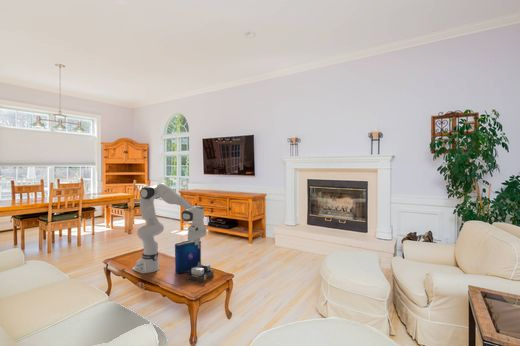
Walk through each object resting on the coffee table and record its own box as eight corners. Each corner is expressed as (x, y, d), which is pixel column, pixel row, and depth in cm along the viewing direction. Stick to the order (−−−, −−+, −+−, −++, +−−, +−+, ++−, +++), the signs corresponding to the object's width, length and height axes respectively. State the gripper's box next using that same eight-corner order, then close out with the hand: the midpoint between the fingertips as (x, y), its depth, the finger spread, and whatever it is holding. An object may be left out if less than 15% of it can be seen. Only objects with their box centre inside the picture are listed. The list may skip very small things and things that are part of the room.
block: (191, 279, 206) (191, 268, 206) (194, 277, 210) (194, 266, 209) (201, 281, 203) (201, 270, 203) (203, 279, 206) (204, 268, 206)
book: (176, 275, 214) (176, 244, 214) (173, 272, 220) (174, 242, 219) (201, 269, 227) (201, 240, 226) (198, 266, 233) (198, 238, 232)
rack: (187, 280, 205) (188, 268, 205) (200, 272, 220) (200, 261, 220) (202, 283, 200) (202, 271, 200) (213, 275, 215) (213, 264, 215)
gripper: (202, 223, 219) (201, 239, 220) (186, 228, 200) (185, 246, 201) (208, 224, 217) (207, 241, 217) (193, 229, 198) (192, 247, 198)
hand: (197, 243), depth 209 cm, fingers closed
